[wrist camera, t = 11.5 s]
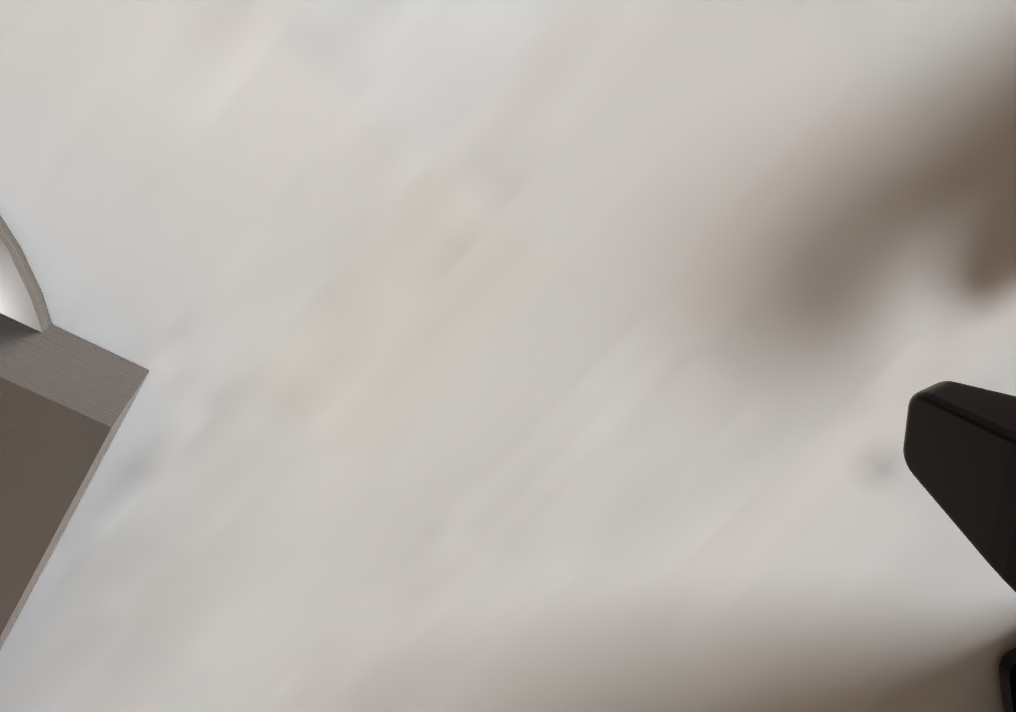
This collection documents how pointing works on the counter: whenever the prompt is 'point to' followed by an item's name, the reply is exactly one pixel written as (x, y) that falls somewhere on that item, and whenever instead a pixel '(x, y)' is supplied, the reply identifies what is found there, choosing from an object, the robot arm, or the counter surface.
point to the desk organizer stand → (46, 425)
